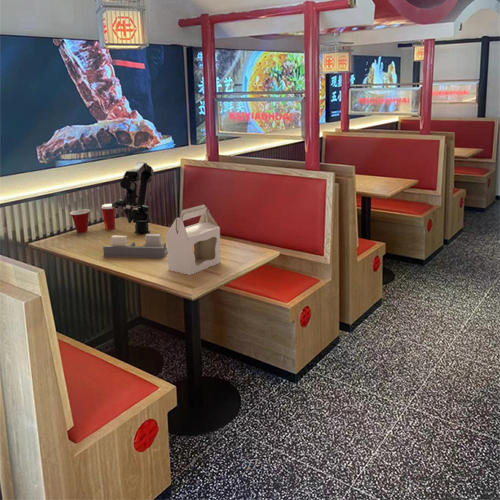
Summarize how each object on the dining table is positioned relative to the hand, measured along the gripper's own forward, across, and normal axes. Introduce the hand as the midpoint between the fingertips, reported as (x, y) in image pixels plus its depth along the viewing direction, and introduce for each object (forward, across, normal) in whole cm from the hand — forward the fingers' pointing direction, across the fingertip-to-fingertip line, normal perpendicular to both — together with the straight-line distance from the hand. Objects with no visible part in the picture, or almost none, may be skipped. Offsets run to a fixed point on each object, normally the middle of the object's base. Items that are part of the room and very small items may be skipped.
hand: (129, 223), depth 285 cm
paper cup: (-2, -5, -37) cm, 37 cm away
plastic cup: (+2, +10, -42) cm, 43 cm away
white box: (+15, -6, +17) cm, 23 cm away
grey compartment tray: (+17, +1, +13) cm, 21 cm away
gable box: (+24, -12, +46) cm, 53 cm away
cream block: (+17, +8, +9) cm, 20 cm away
